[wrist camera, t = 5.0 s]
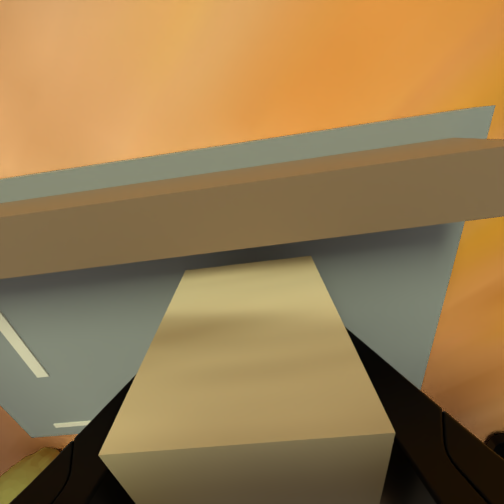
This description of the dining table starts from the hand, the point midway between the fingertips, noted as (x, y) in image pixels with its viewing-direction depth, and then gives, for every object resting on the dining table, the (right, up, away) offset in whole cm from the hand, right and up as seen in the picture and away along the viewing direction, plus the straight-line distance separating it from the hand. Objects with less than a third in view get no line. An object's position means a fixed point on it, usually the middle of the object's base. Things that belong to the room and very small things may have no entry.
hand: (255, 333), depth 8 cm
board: (-3, 0, +4) cm, 5 cm away
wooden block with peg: (0, -2, +2) cm, 3 cm away
